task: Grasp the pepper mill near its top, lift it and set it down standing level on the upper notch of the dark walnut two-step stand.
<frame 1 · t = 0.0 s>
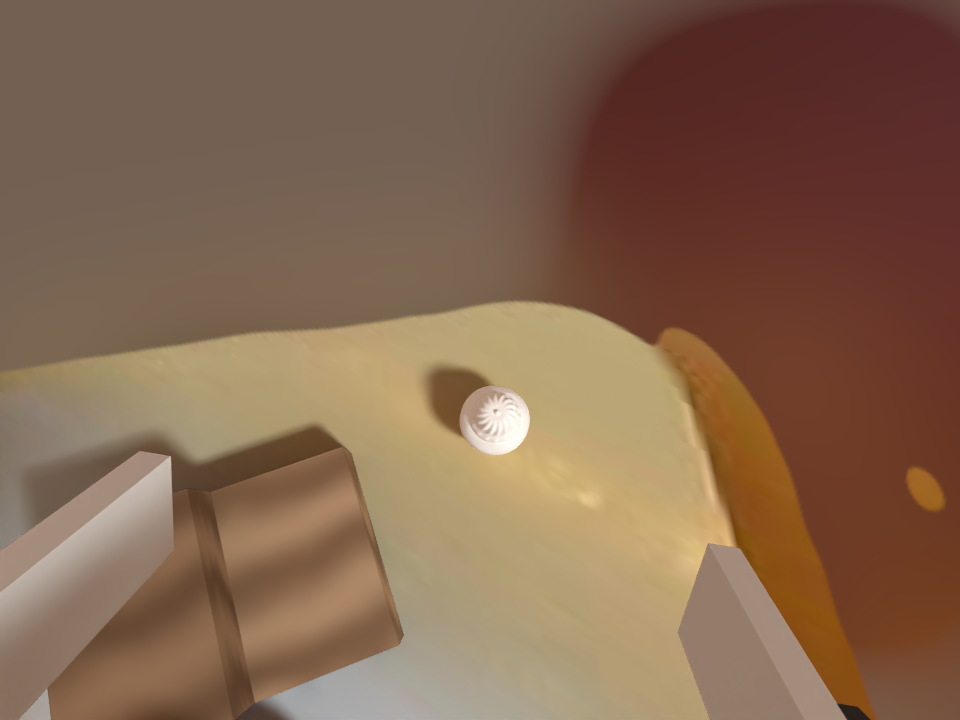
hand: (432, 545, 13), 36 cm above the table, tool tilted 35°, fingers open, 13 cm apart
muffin: (491, 427, 51), on the table
step stand: (250, 586, 45), on the table
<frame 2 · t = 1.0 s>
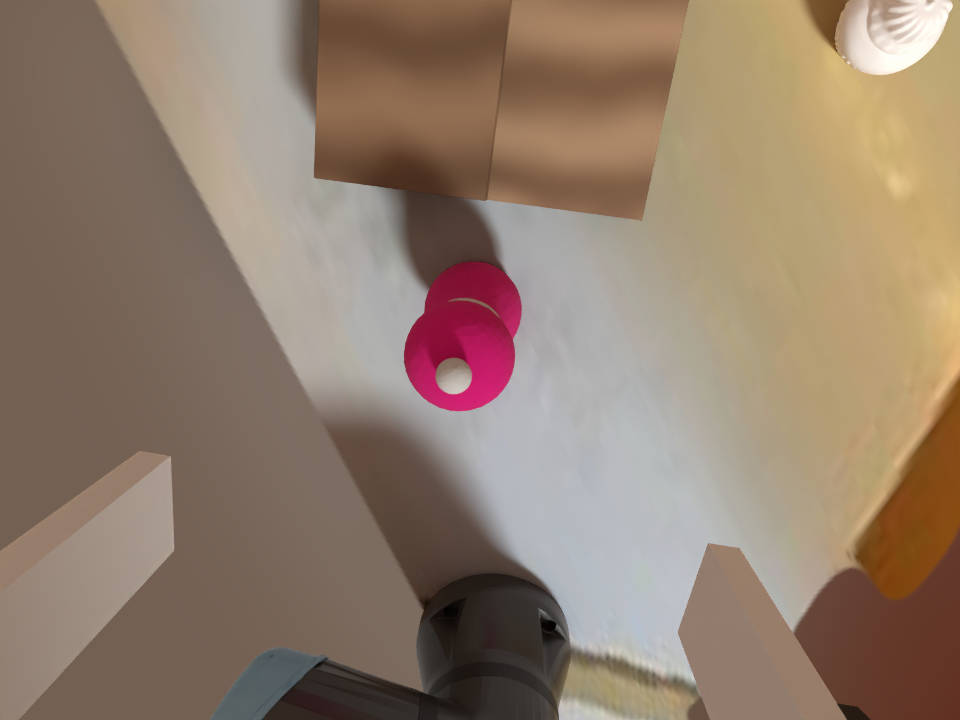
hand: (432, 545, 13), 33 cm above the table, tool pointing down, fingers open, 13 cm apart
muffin: (856, 36, 38), on the table
step stand: (503, 85, 39), on the table
pepper mill: (476, 298, 45), on the table
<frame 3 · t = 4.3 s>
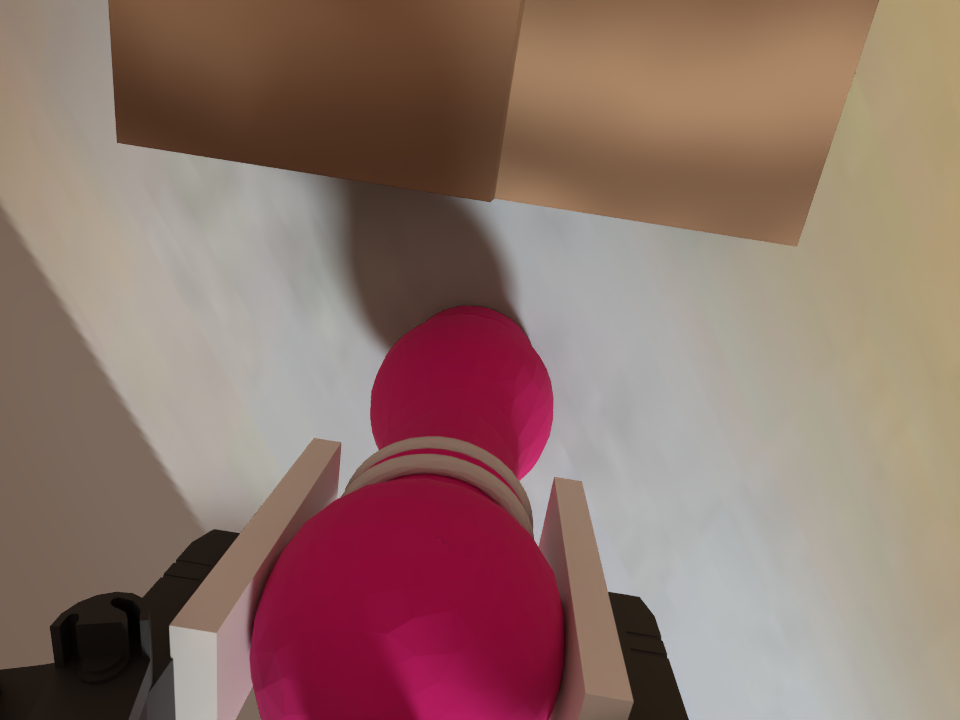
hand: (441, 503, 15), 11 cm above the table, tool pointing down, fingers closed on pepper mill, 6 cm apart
pepper mill: (471, 367, 26), on the table, touching gripper
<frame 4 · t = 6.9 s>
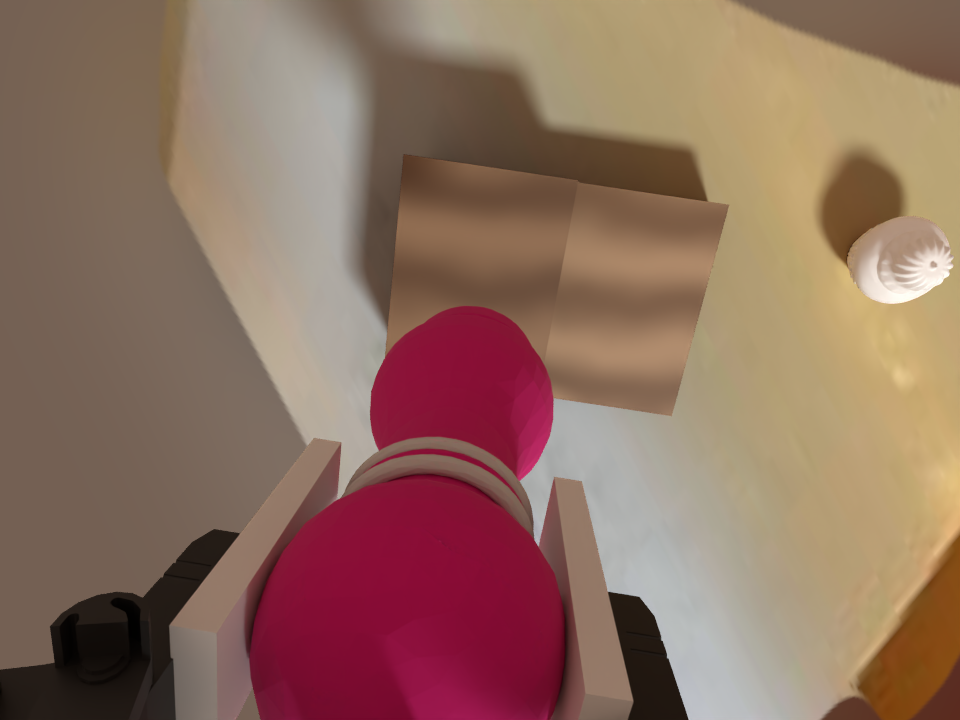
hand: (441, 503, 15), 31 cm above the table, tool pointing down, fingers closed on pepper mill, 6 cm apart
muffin: (866, 254, 42), on the table
step stand: (547, 285, 44), on the table
pepper mill: (471, 367, 26), point 19 cm above the table, touching gripper
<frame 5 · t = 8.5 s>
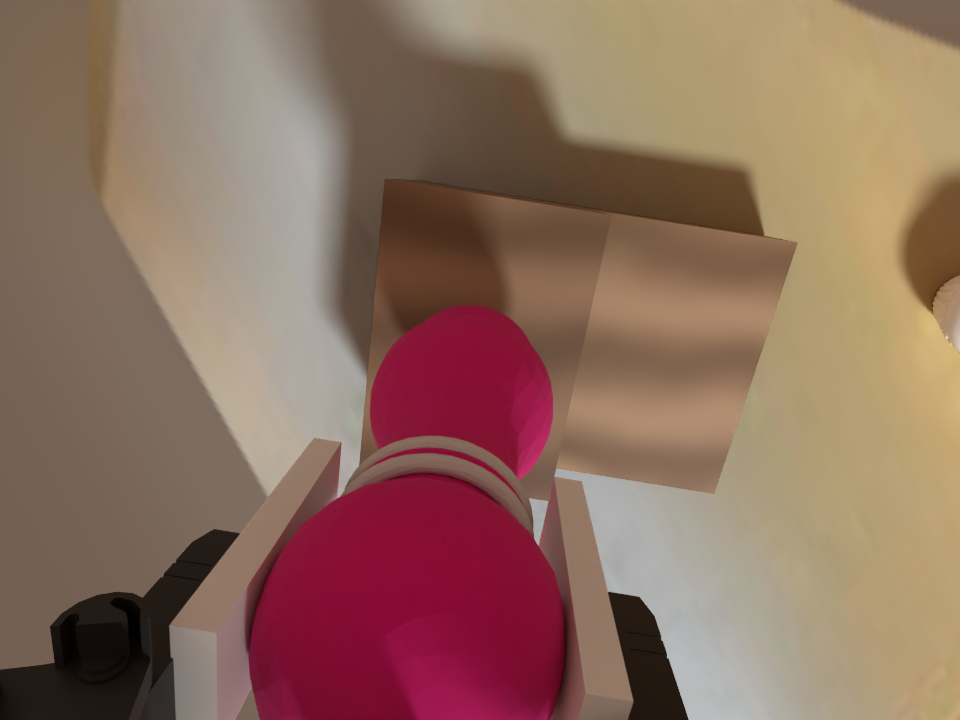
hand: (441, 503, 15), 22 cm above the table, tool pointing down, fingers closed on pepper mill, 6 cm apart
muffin: (956, 299, 34), on the table
step stand: (563, 331, 36), on the table
pepper mill: (470, 367, 26), point 11 cm above the table, touching gripper
when the fingers open (20 cm above the table, at t = 9.7 s): pepper mill stays where it is, resting on step stand.
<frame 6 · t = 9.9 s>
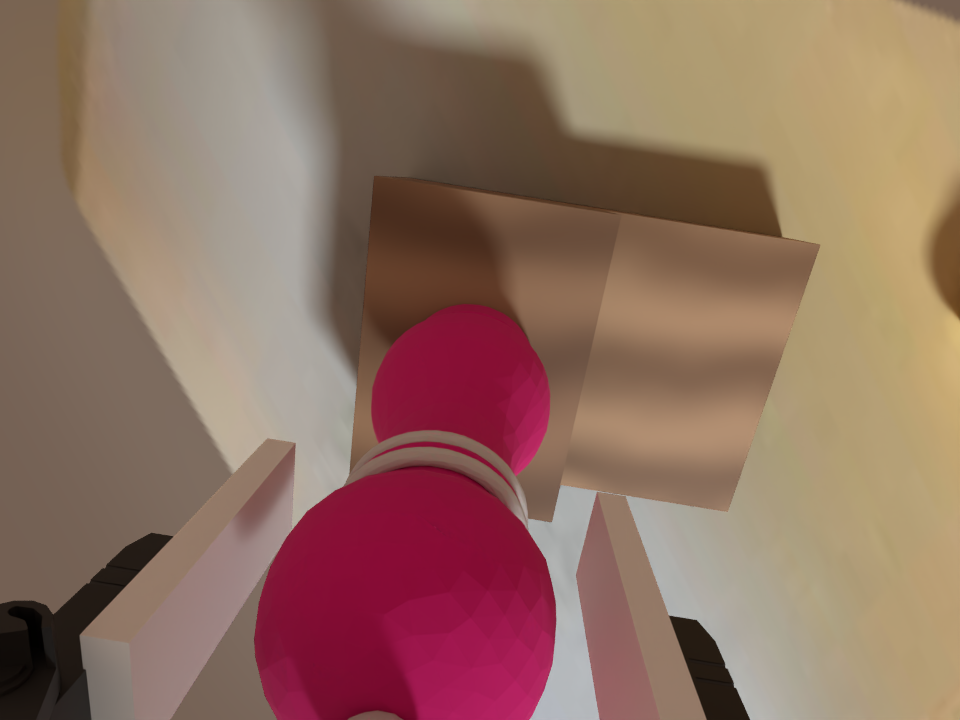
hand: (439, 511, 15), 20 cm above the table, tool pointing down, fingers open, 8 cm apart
step stand: (567, 338, 34), on the table
pepper mill: (470, 364, 26), point 8 cm above the table, touching step stand
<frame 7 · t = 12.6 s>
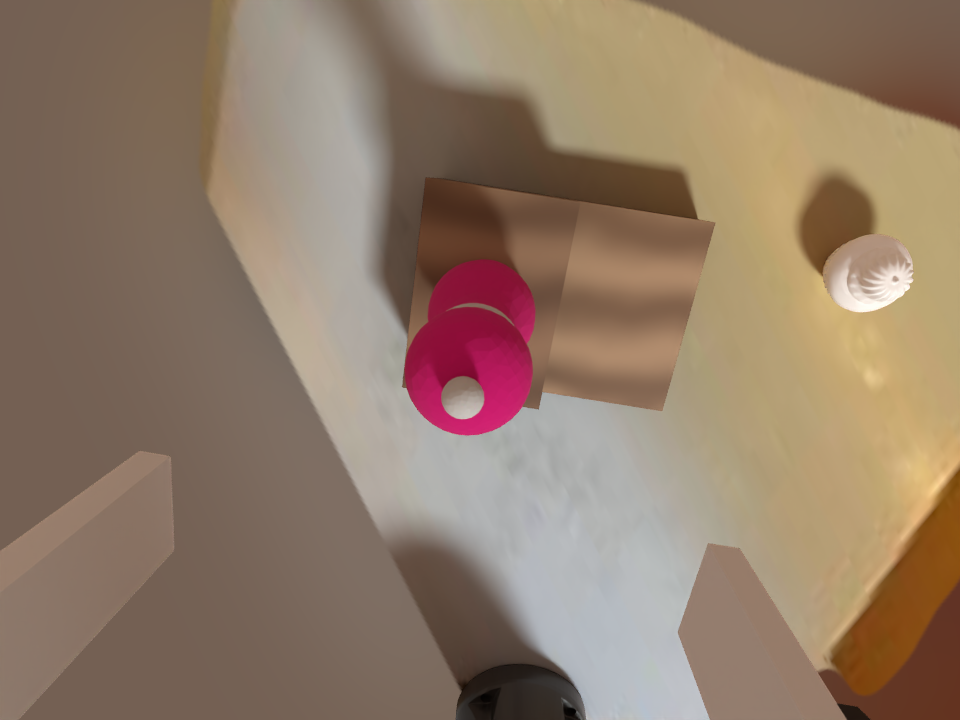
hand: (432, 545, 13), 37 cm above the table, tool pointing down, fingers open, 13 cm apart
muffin: (841, 266, 46), on the table
step stand: (550, 291, 48), on the table
pepper mill: (484, 300, 40), point 8 cm above the table, touching step stand
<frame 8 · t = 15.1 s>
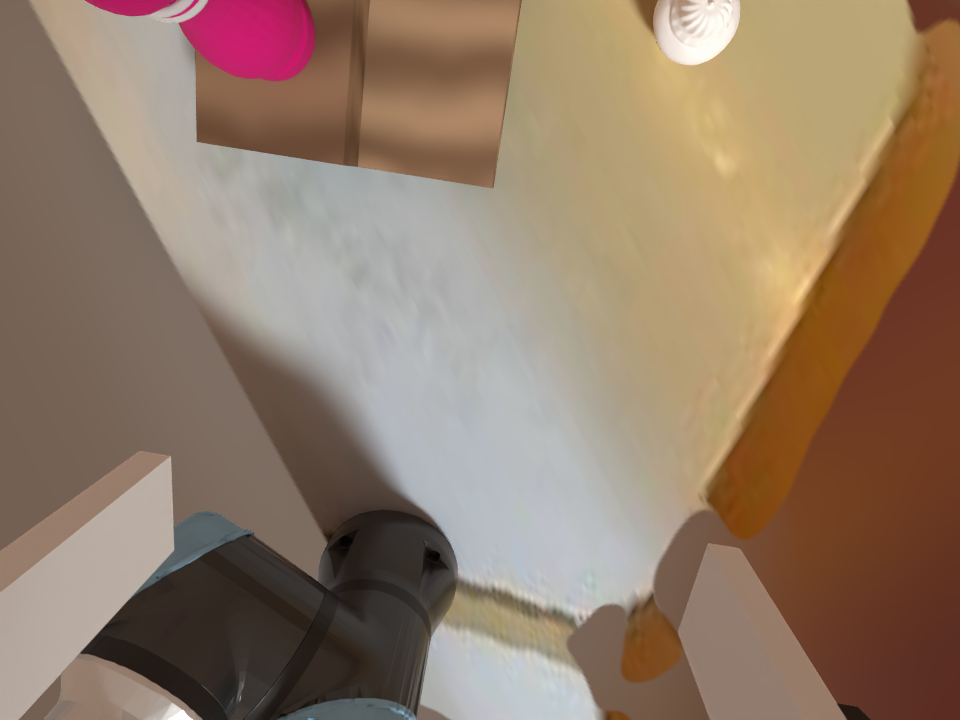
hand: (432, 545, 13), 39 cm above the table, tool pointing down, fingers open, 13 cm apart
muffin: (681, 31, 43), on the table
step stand: (378, 67, 45), on the table
pepper mill: (273, 32, 38), point 8 cm above the table, touching step stand
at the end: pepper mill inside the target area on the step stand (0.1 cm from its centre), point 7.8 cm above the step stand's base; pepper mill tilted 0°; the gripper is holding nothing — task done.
